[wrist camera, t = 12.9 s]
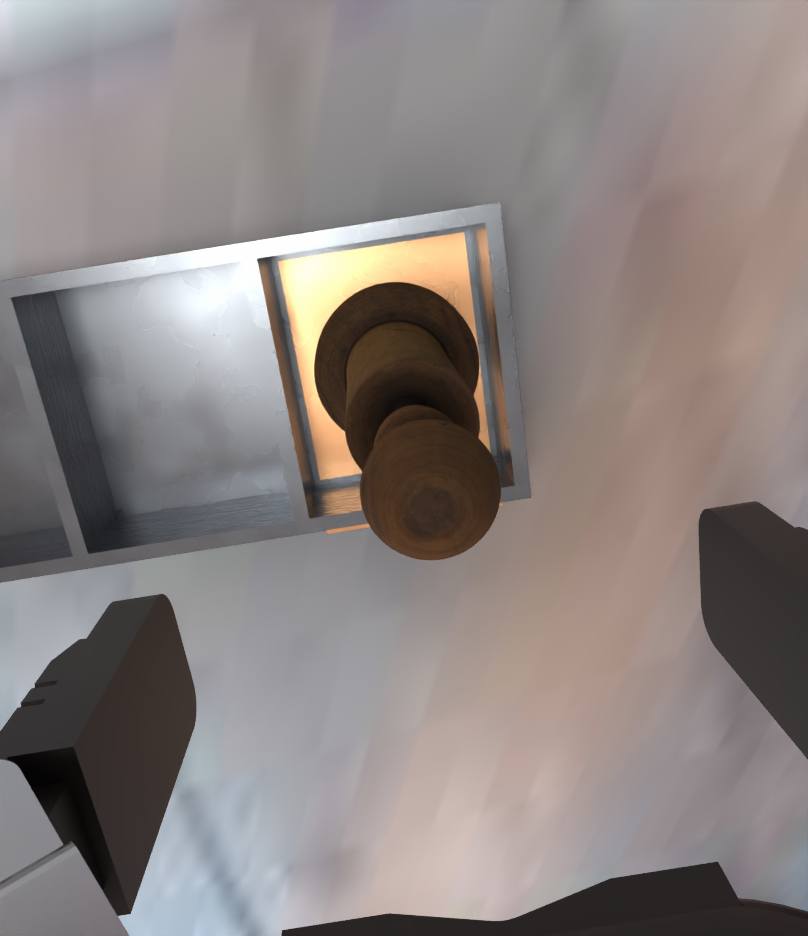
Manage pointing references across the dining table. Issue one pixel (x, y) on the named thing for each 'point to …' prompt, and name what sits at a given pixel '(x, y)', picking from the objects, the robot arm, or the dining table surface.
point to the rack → (218, 390)
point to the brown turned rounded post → (410, 417)
